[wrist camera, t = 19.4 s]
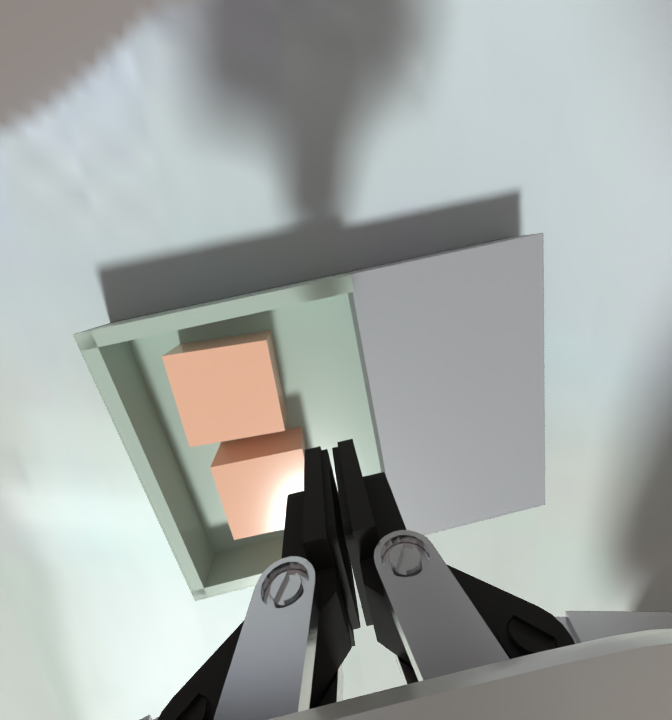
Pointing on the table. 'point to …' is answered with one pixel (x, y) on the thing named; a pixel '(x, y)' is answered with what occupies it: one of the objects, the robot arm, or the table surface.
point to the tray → (192, 464)
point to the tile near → (227, 388)
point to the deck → (456, 379)
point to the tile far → (259, 479)
